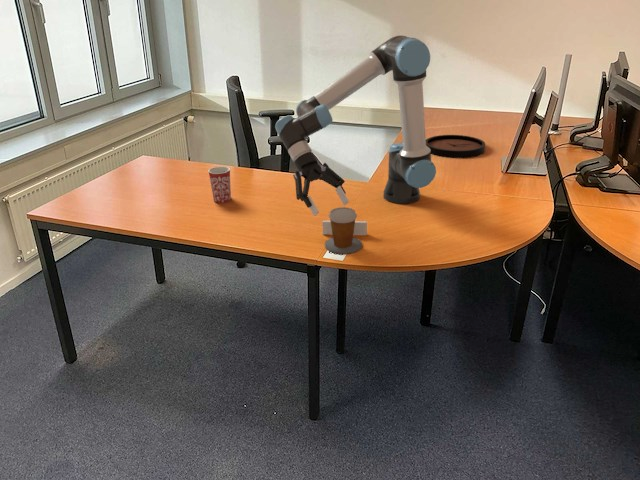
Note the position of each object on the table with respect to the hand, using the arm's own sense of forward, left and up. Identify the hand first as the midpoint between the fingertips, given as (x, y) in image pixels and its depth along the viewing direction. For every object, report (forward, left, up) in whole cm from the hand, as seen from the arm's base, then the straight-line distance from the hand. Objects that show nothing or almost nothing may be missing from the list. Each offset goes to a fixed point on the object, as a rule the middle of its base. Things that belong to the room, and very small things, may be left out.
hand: (332, 208), depth 182 cm
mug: (+50, -39, -13) cm, 65 cm away
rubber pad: (-4, +3, -12) cm, 13 cm away
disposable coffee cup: (-4, +3, -12) cm, 13 cm away
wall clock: (-57, -113, -13) cm, 127 cm away
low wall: (-4, -6, -12) cm, 14 cm away
